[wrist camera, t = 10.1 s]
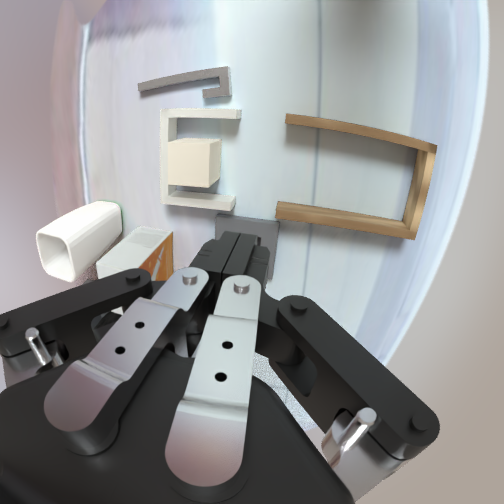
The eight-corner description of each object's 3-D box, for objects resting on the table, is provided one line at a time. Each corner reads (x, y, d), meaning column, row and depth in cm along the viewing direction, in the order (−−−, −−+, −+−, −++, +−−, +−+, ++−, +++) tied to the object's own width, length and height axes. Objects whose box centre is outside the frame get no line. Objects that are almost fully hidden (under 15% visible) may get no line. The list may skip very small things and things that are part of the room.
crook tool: (141, 83, 34) (137, 83, 33) (229, 67, 32) (227, 66, 31) (144, 109, 36) (140, 109, 35) (231, 95, 34) (229, 94, 33)
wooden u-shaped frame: (287, 113, 34) (286, 113, 31) (426, 141, 32) (437, 145, 29) (277, 209, 40) (275, 218, 37) (407, 230, 38) (414, 240, 35)
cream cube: (184, 137, 38) (167, 142, 33) (221, 139, 37) (210, 143, 32) (183, 174, 40) (167, 184, 35) (220, 177, 40) (208, 187, 35)
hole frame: (217, 213, 42) (215, 216, 41) (279, 221, 41) (278, 224, 40) (216, 266, 46) (214, 270, 45) (272, 275, 45) (271, 279, 44)
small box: (174, 273, 48) (140, 321, 37) (141, 266, 49) (103, 310, 38) (173, 230, 45) (133, 272, 33) (139, 224, 45) (93, 262, 34)
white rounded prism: (125, 198, 43) (67, 237, 30) (128, 238, 47) (77, 285, 34) (92, 194, 44) (33, 229, 31) (96, 232, 47) (43, 273, 34)
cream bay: (169, 108, 36) (160, 109, 33) (241, 109, 35) (236, 109, 32) (169, 197, 42) (160, 203, 39) (235, 204, 41) (230, 211, 38)
